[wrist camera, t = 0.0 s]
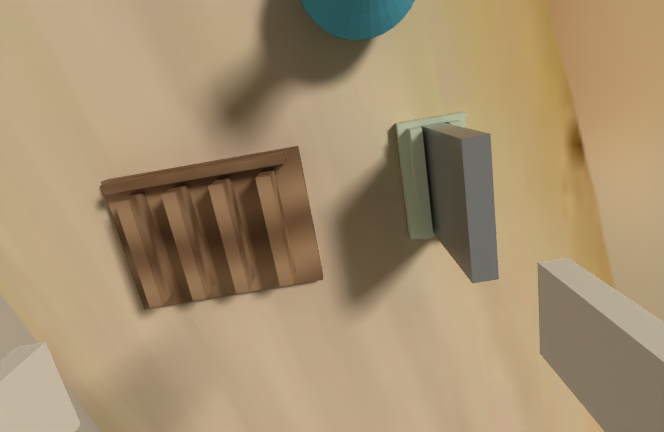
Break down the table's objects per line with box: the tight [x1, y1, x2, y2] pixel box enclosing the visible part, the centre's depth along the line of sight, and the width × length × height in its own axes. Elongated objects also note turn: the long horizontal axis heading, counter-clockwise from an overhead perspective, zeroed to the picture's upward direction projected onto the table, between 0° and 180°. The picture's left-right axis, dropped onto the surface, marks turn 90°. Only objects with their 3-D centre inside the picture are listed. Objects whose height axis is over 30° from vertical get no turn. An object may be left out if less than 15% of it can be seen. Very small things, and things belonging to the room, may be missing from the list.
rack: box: [100, 146, 323, 309], centre depth 37 cm, size 13×18×4 cm
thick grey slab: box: [421, 122, 499, 283], centre depth 32 cm, size 10×2×11 cm, turn 10°
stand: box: [395, 112, 466, 240], centre depth 37 cm, size 11×6×3 cm, turn 10°
